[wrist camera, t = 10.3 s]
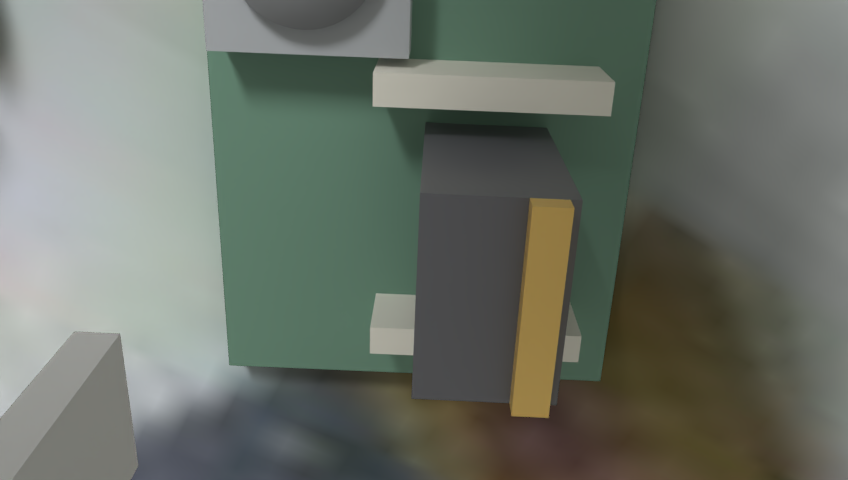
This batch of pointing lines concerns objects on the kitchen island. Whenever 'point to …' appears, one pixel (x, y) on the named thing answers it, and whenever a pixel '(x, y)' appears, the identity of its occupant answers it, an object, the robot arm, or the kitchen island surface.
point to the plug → (493, 266)
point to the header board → (401, 156)
